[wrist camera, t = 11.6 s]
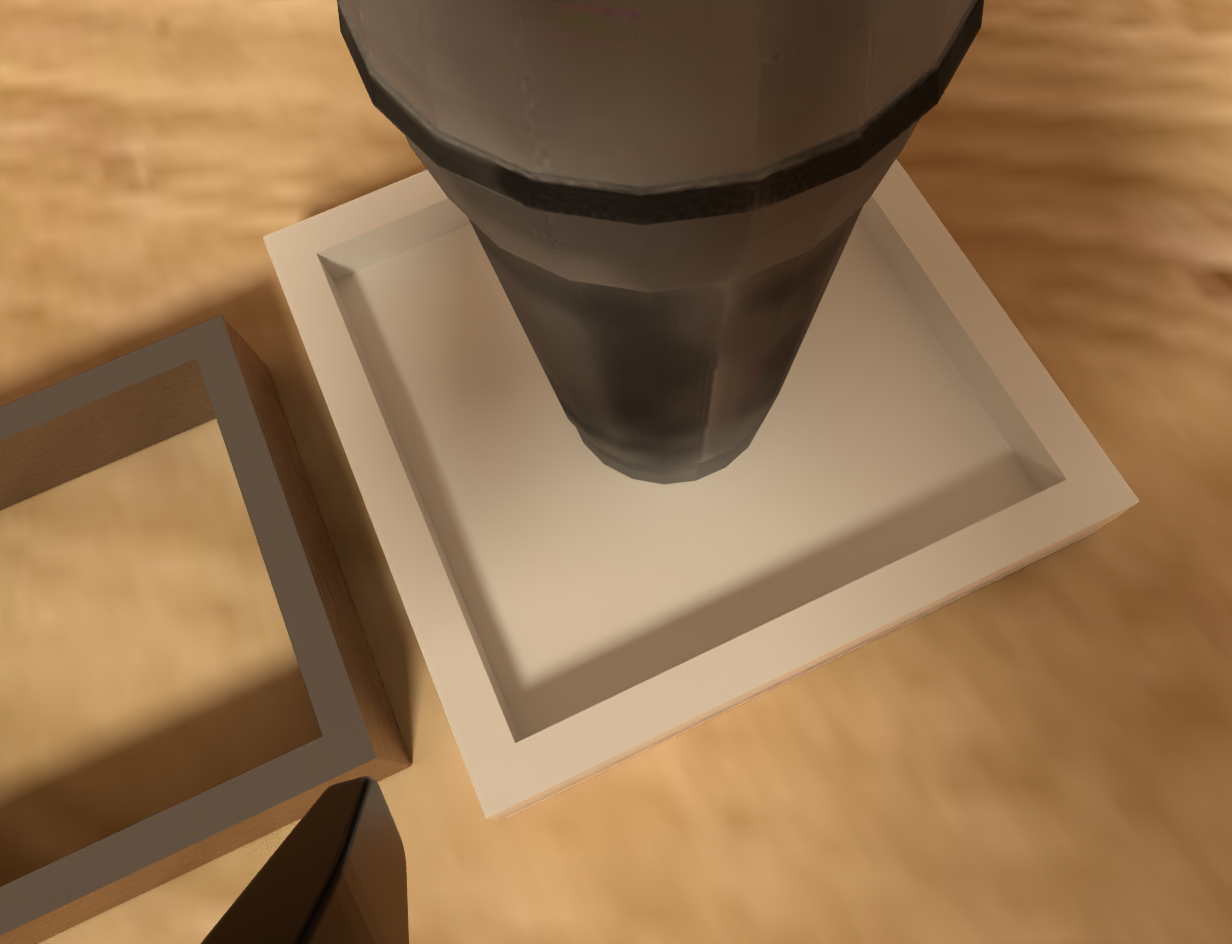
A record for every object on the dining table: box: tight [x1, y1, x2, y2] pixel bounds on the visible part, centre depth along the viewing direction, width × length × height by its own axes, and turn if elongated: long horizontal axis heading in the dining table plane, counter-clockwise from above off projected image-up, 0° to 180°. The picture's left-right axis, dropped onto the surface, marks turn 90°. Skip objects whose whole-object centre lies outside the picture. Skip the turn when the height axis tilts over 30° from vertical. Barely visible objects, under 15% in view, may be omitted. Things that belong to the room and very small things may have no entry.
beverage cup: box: [337, 0, 984, 484], centre depth 12 cm, size 7×7×20 cm
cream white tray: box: [263, 158, 1140, 819], centre depth 21 cm, size 14×14×2 cm
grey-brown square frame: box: [0, 315, 412, 944], centre depth 20 cm, size 10×10×2 cm
